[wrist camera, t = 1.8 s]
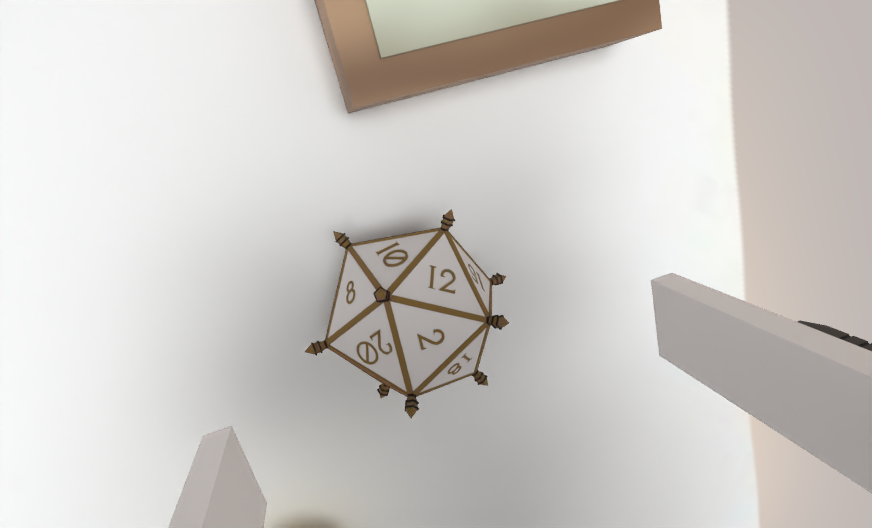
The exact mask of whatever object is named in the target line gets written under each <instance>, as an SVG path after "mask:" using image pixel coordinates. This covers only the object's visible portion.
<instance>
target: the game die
mask: <svg viewBox="0 0 872 528" xmlns="http://www.w3.org/2000/svg"><path fill="white" fill-rule="evenodd" d="M442 218H443V220H442V221H441V223H442V225H441V228H436V229H430V230H425V231H419V232H414V233H408V234H403V235H397V236H392V237H386V238H381V239H375V240H370V241H364V242H359V243H353V244H352V243H350V241H349V239H348V238H349V237H348V238H347V237H346V236H345V233H344V234H343V233H339V232H335V231H334V235H335V239H336V242H337V243H339V244H340V245H339V246H342V247H344V248H345V249H346V251H345V256H344V260H343V264H342V269H341V273H340V277H339V282H338V286H337V290H336V295H335V299H334V303H333V308H332V312H331V316H330V321H329V325H328V329H327V334H326V338H325V341H322V342H319V341H317V342H316V343H311V345H310V346H309V348H308V349H307V350H306V351H305V352H307V353H312V354H315V355H317V353H320V352H321V353H322V351H323V350H324V349H326V348H328V349H330V350H331V351H333V352H335V353H336V354H338V355H339V356H341V357H342V358H344V359H345V360H347V361H349V362H350V363H352V364H353V365H355V366H356V367H358V368H359V369H361V370H363V371H364V372H366V373H367V374H369V375H370V376H372V377H373V378H375V379H377V380H378V381H380V382H381V383H382V384H381V385H379V387H380V388H379V389H378V392H379V394H380V397H381V398H382V397H384V396H387V395H388V392H389V389H390V388H392V389H394V390H395V391H397V392H399V393H401V394H403V395H405V396H407V397H408V398H407V400H406V402H405V405H406V406H405V411H406V412H407V413H408V415H409V416H410V418H412V417H413V415H414V414H415V412H416V411H417V410H419V408H418V407H417V404H419V402H417V400H416V397H417V396H419V395H422V394H424V393H427V392H430V391H432V390H435V389H437V388H440V387H442V386H445V385H448V384H450V383H453V382H455V381H458V380H460V379H463V378H466V377H468V376H471V375H472V376H474V378H475V381H477V382H478V385H480V384H482V385H488V383H487V376H486V375H484V373H483V372H479V371H478V366H479V363H480V359H481V356H482V352H483V349H484V345H485V342H486V339H487V335H488V332H489V328H490V325H492V326H493V327H494V328H495V329H496V328H499V329H500V330H501V329H502V327H504V326H505V325H507V324H509V322H508V321H507V320H506V319H505V318H504V316H503V315H501V316H498V315H494V316H492V285H499V284H502V283H503V281H504V279H505V278H506V276H504V275H500V274H498V273H497V274H496V275H493V276H492V277H491V278H488V277H487V276H486V274H485V273H484V272H483V271H482V270H481V269H480V267H479V266H478V265H477V264H476V263H475V262H474V260H473V259H472V258H471V257H470V256H469V255H468V253H467V252H466V251H465V250H464V249H463V248H462V246H461V245H460V244H459V243H458V242H457V241H456V239H455V238H454V237H453V236H452V235H451V234H450V232H449V231H448V230H449V228H450V227H451V226H453V225H452V223H453V221H455V219H454V217H453V213H452V209H451V210H450V211H449V212H448V213H446V214H445V215H443V217H442Z"/></svg>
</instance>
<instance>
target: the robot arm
mask: <svg viewBox="0 0 872 528" xmlns="http://www.w3.org/2000/svg"><path fill="white" fill-rule="evenodd" d="M651 286H652V295H653V303H654V312H655V321H656V330H657V339H658V347H659V355H660V356H661V357H663V358H664V359H666V360H667V361H669V362H670V363H672V364H673V365H675V366H676V367H678V368H680V369H681V370H683V371H684V372H686V373H687V374H689V375H690V376H692V377H693V378H695V379H697V380H698V381H700V382H701V383H703V384H704V385H706V386H707V387H709V388H710V389H712V390H713V391H715V392H717V393H718V394H720V395H721V396H723V397H724V398H726V399H727V400H729V401H730V402H732V403H733V404H735V405H737V406H738V407H740V408H741V409H743V410H744V411H746V412H747V413H749V414H750V415H752V416H754V417H755V418H757V419H758V420H760V421H761V422H763V423H764V424H766V425H768V426H769V427H770V428H772V429H774V430H775V431H777V432H778V433H780V434H781V435H783V436H784V437H786V438H787V439H789V440H790V441H792V442H794V443H795V444H797V445H798V446H800V447H801V448H803V449H804V450H806V451H807V452H809V453H810V454H812V455H814V456H815V457H817V458H819V459H820V460H821V461H823V462H825V463H826V464H827V465H829V466H831V467H832V468H834V469H835V470H837V471H838V472H840V473H841V474H843V475H845V476H846V477H848V478H849V479H851V480H852V481H854V482H855V483H857V484H858V485H860V486H861V487H863V488H864V489H866V490H867V491H869V492H871V493H872V344H869V343H868V341H865V340H863V339H860V338H858V337H855V336H852V337H850V336H849V334H847V333H844V332H842V331H839V330H836V329H834V328H831V327H829V326H825V325H820V324H815V323H809V322H804V321H798V322H796V321H793V320H791V319H788V318H785V317H783V316H781V315H778V314H775V313H773V312H770V311H768V310H765V309H763V308H760V307H757V306H755V305H752V304H750V303H747V302H745V301H742V300H740V299H737V298H735V297H732V296H730V295H727V294H725V293H722V292H720V291H717V290H714V289H712V288H709V287H707V286H704V285H702V284H699V283H697V282H694V281H692V280H689V279H686V278H684V277H681V276H679V275H676V274H674V273H670V274H667V275H664V276H661V277H658V278H656V279H653V280H651ZM266 505H267V502H266V500H265V498H264V496H263V494H262V492H261V489H260V487H259V485H258V483H257V481H256V479H255V476H254V474H253V472H252V470H251V468H250V465H249V463H248V461H247V459H246V457H245V455H244V452H243V450H242V448H241V446H240V444H239V441H238V439H237V437H236V435H235V433H234V431H233V428H232V426H230V427H227V428H224V429H222V430H219V431H216V432H213V433H210V434H207V435H204V436H203V437H202V440H201V443H200V445H199V448H198V451H197V453H196V456H195V459H194V461H193V464H192V466H191V469H190V472H189V474H188V477H187V480H186V482H185V485H184V488H183V490H182V493H181V496H180V498H179V501H178V504H177V506H176V509H175V512H174V514H173V517H172V520H171V522H170V525H169V528H264V520H265V513H266Z"/></svg>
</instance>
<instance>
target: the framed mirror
mask: <svg viewBox="0 0 872 528" xmlns="http://www.w3.org/2000/svg"><path fill="white" fill-rule="evenodd" d="M315 3H316V6H317V10H318V13H319V16H320V20H321V23H322V27H323V30H324V33H325V37H326V40H327V44H328V47H329V50H330V54H331V57H332V61H333V64H334V67H335V71H336V74H337V78H338V81H339V84H340V88H341V91H342V94H343V98H344V101H345V105H346V108H347V111H348V113H351V112H355V111H359V110H363V109H367V108H371V107H375V106H378V105H382V104H386V103H390V102H394V101H398V100H402V99H405V98H409V97H413V96H417V95H421V94H425V93H429V92H433V91H436V90H440V89H444V88H448V87H452V86H456V85H460V84H463V83H467V82H471V81H475V80H479V79H483V78H487V77H490V76H494V75H498V74H502V73H506V72H510V71H514V70H517V69H521V68H525V67H529V66H533V65H537V64H541V63H544V62H548V61H552V60H556V59H560V58H564V57H568V56H571V55H575V54H579V53H583V52H587V51H591V50H595V49H598V48H602V47H606V46H610V45H613V44H616V43H619V42H622V41H625V40H628V39H632V38H635V37H638V36H641V35H644V34H647V33H650V32H653V31H656V30H659V29H662V24H661V14H660V4H659V0H315Z"/></svg>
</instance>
